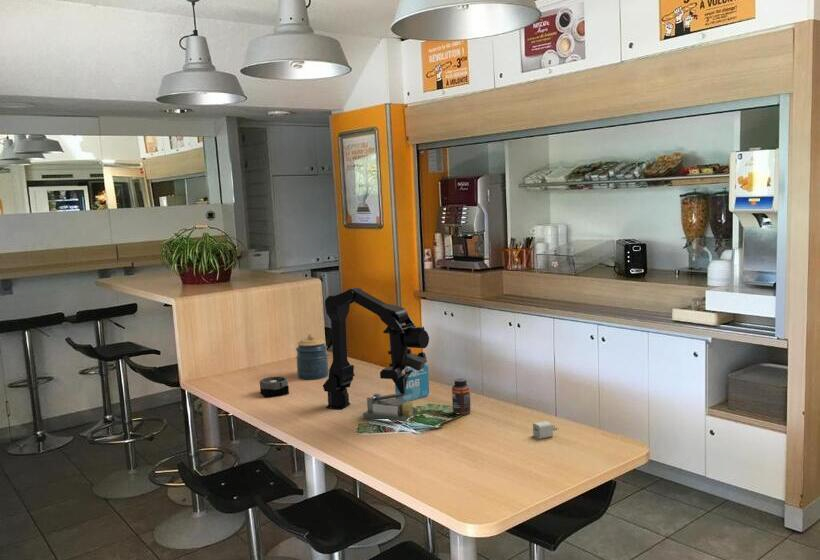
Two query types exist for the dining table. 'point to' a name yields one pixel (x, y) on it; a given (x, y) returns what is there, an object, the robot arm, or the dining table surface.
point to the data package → (416, 385)
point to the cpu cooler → (274, 387)
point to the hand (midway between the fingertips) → (402, 393)
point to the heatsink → (389, 409)
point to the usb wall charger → (543, 429)
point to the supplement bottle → (461, 397)
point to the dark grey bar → (388, 396)
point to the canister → (312, 358)
